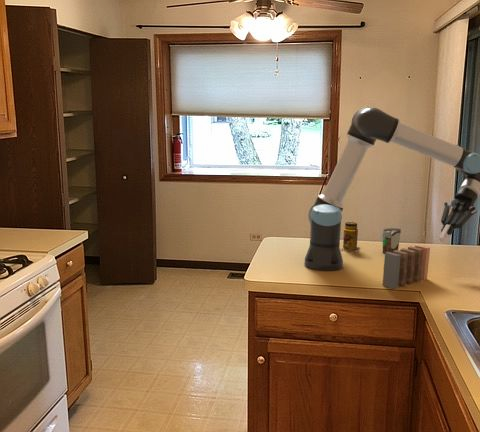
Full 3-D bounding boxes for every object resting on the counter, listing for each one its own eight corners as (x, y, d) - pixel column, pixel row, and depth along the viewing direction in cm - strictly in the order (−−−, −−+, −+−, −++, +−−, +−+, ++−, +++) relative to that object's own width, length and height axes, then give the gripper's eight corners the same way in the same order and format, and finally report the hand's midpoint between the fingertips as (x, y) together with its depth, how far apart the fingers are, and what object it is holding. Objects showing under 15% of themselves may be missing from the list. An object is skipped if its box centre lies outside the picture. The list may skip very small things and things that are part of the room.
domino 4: (416, 282, 193) (419, 250, 191) (405, 278, 197) (407, 247, 195) (420, 281, 195) (423, 249, 192) (408, 277, 198) (411, 246, 196)
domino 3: (409, 284, 190) (412, 252, 188) (397, 280, 194) (400, 249, 192) (412, 283, 192) (415, 251, 189) (401, 279, 196) (403, 248, 193)
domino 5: (424, 279, 196) (427, 248, 194) (412, 276, 200) (415, 245, 197) (427, 278, 197) (430, 247, 195) (415, 275, 201) (418, 244, 199)
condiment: (340, 250, 235) (342, 223, 232) (344, 245, 243) (345, 220, 240) (357, 252, 232) (358, 225, 230) (360, 247, 240) (362, 221, 238)
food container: (385, 248, 240) (387, 226, 238) (399, 250, 236) (401, 228, 234) (375, 253, 230) (377, 231, 228) (389, 256, 226) (391, 233, 224)
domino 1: (394, 289, 185) (397, 255, 183) (382, 285, 189) (385, 252, 186) (397, 288, 186) (400, 255, 184) (385, 284, 190) (388, 251, 188)
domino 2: (402, 286, 188) (404, 253, 185) (390, 283, 192) (392, 250, 189) (405, 285, 189) (408, 253, 187) (393, 282, 193) (396, 249, 190)
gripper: (487, 201, 207) (460, 249, 200) (455, 196, 217) (429, 242, 210) (482, 188, 202) (454, 237, 195) (450, 184, 212) (423, 230, 205)
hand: (441, 239), depth 203 cm, fingers closed
